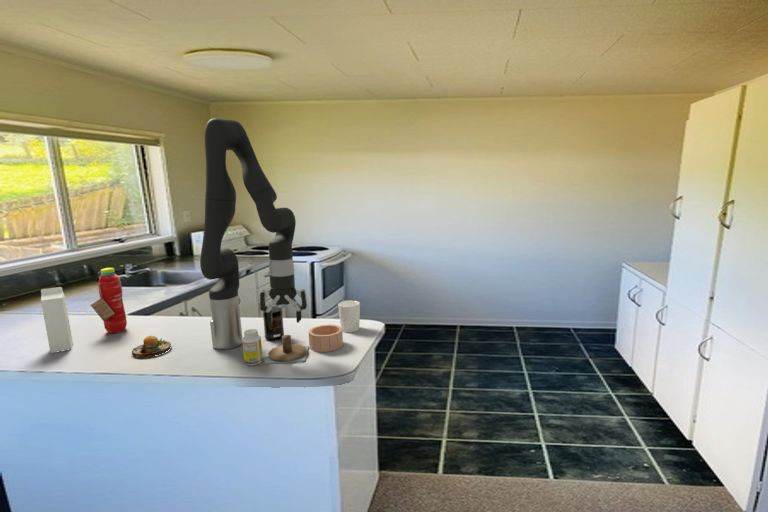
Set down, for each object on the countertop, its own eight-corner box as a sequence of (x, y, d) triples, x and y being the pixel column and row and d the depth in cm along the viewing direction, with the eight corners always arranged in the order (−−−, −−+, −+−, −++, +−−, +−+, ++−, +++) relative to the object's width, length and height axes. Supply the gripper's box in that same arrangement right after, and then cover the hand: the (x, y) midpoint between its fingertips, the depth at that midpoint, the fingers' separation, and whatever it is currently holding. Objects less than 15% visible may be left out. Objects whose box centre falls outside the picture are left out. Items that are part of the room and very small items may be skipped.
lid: (265, 363, 137) (263, 344, 136) (272, 348, 149) (270, 331, 148) (304, 360, 138) (303, 342, 137) (308, 346, 150) (307, 328, 149)
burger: (175, 344, 158) (173, 324, 157) (165, 357, 146) (162, 335, 145) (139, 347, 156) (136, 327, 155) (126, 361, 144) (123, 339, 143)
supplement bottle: (256, 357, 143) (253, 326, 141) (266, 361, 139) (263, 330, 137) (240, 363, 139) (237, 331, 137) (251, 367, 135) (248, 335, 133)
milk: (71, 349, 156) (61, 288, 151) (50, 353, 153) (38, 291, 149) (73, 344, 161) (63, 285, 157) (52, 348, 158) (42, 287, 154)
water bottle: (108, 338, 165) (98, 272, 161) (91, 337, 168) (81, 272, 163) (134, 327, 177) (125, 266, 172) (118, 326, 179) (109, 265, 174)
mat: (265, 364, 137) (265, 362, 137) (272, 349, 149) (272, 348, 149) (305, 361, 138) (305, 360, 138) (308, 346, 150) (308, 345, 150)
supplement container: (279, 333, 164) (277, 305, 162) (287, 338, 159) (285, 309, 157) (262, 337, 160) (259, 309, 159) (269, 342, 155) (266, 314, 153)
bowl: (308, 353, 144) (307, 337, 143) (311, 340, 155) (310, 325, 154) (342, 351, 145) (341, 334, 144) (343, 338, 156) (342, 323, 155)
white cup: (357, 333, 161) (356, 306, 159) (336, 332, 162) (335, 306, 161) (363, 326, 168) (362, 300, 167) (343, 325, 170) (341, 300, 168)
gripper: (256, 276, 134) (259, 327, 138) (303, 274, 135) (306, 325, 139) (260, 270, 142) (264, 319, 145) (306, 269, 143) (308, 317, 146)
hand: (284, 322), depth 142 cm, fingers open, 8 cm apart
